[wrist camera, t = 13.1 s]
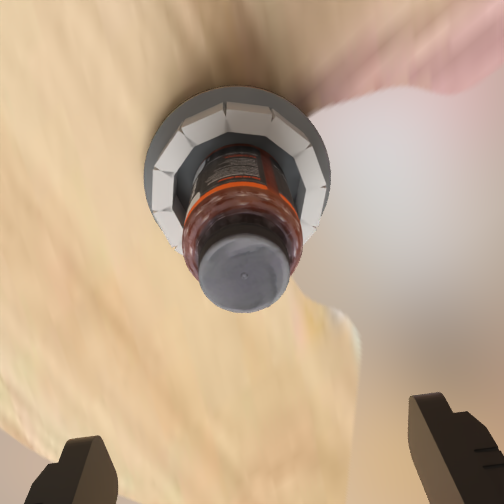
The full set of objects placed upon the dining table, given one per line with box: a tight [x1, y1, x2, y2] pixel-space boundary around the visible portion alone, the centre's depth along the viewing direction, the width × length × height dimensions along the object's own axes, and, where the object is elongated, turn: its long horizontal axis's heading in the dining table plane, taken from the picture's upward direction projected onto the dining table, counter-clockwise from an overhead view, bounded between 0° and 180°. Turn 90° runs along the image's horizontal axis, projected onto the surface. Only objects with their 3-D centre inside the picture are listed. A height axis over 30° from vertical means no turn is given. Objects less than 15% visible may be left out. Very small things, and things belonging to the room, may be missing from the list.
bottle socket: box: [144, 85, 331, 255], centre depth 29 cm, size 12×12×4 cm
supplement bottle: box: [182, 143, 303, 313], centre depth 25 cm, size 6×6×11 cm
